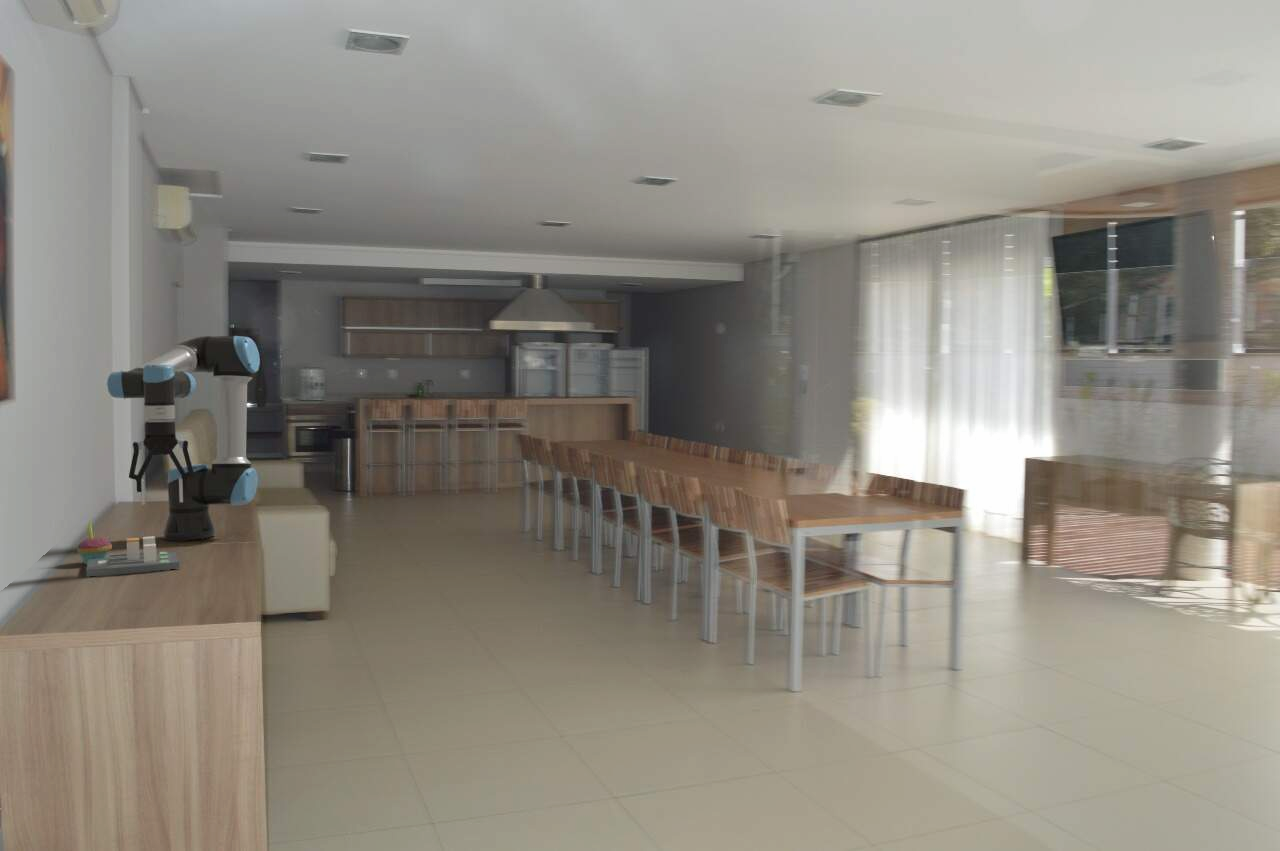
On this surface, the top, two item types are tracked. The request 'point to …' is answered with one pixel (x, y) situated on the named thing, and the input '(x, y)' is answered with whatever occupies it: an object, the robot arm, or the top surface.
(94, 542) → the cupcake
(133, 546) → the breaker handle
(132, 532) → the top surface
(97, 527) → the top surface
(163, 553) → the panel
